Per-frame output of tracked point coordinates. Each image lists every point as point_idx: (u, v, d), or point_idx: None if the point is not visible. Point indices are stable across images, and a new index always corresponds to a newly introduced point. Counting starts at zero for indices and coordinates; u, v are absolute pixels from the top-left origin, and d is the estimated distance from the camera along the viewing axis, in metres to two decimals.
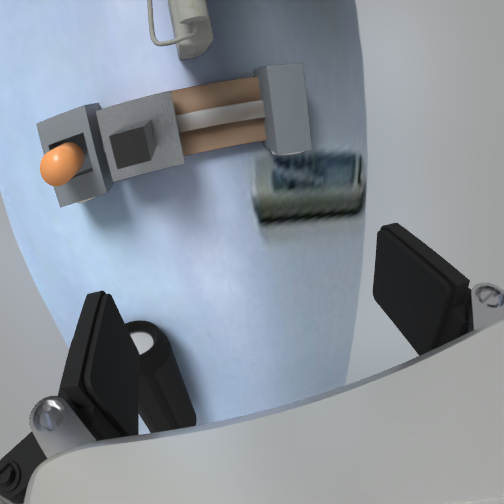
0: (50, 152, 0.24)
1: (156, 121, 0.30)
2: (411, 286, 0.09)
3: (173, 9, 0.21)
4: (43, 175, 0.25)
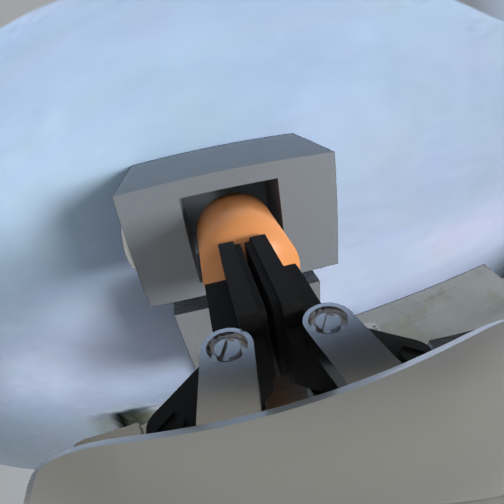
0: (295, 261, 0.12)
1: None
2: (262, 300, 0.09)
3: None
4: (238, 237, 0.11)
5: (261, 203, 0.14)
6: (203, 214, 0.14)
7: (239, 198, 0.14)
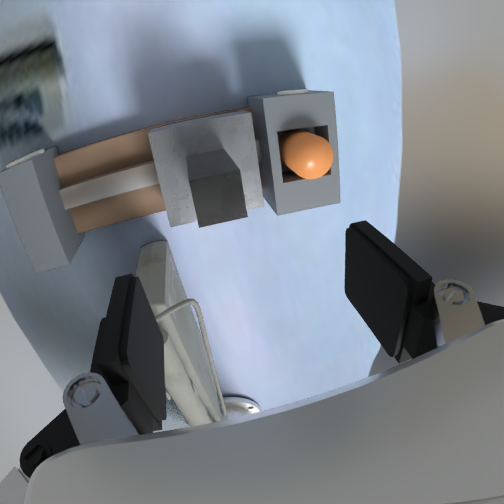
0: (315, 176, 0.25)
1: (186, 189, 0.25)
2: (376, 283, 0.09)
3: (177, 337, 0.26)
4: (330, 151, 0.24)
5: None
6: None
7: None
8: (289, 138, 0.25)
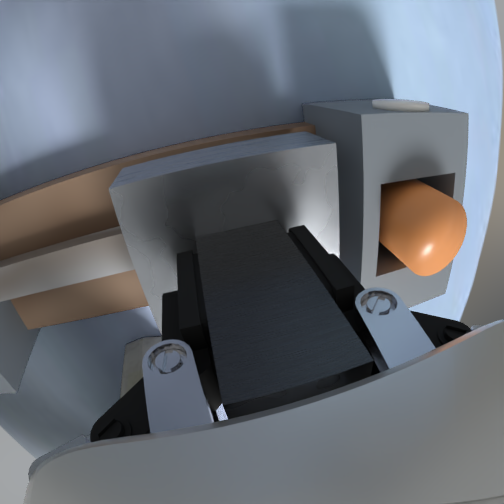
0: (435, 270, 0.13)
1: None
2: None
3: None
4: (463, 226, 0.12)
5: None
6: None
7: None
8: (395, 195, 0.13)
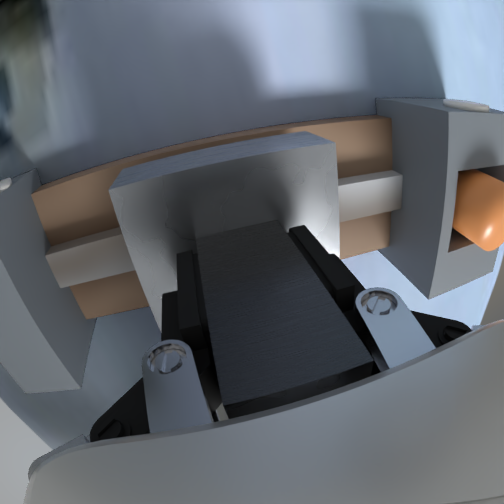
0: (495, 246, 0.13)
1: None
2: None
3: None
4: None
5: None
6: None
7: None
8: (465, 182, 0.13)
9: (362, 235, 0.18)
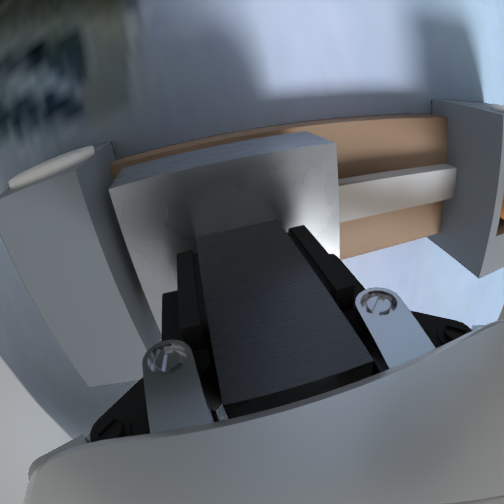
0: None
1: None
2: None
3: None
4: None
5: None
6: None
7: None
8: None
9: (420, 222, 0.19)
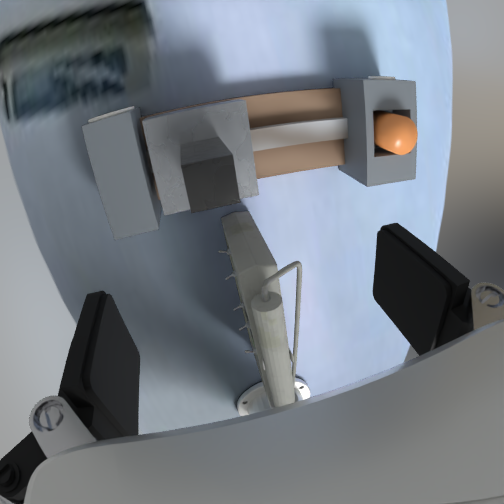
0: (403, 153, 0.26)
1: (180, 177, 0.25)
2: (411, 286, 0.09)
3: None
4: (415, 132, 0.25)
5: None
6: None
7: None
8: (380, 117, 0.26)
9: (327, 155, 0.31)
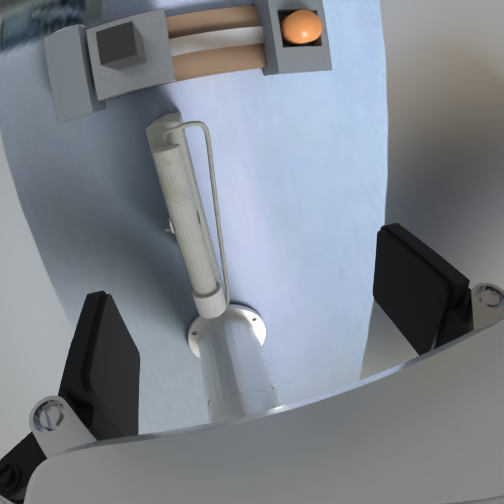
0: (308, 39, 0.26)
1: (111, 68, 0.25)
2: (411, 286, 0.09)
3: (187, 161, 0.27)
4: (319, 23, 0.26)
5: None
6: None
7: None
8: None
9: (247, 59, 0.31)
